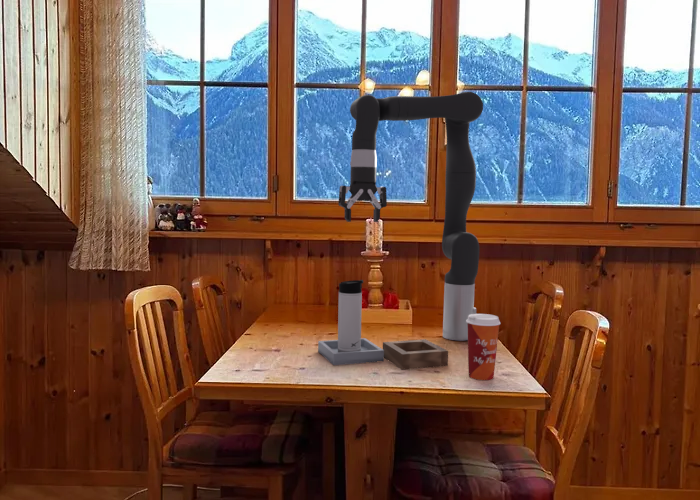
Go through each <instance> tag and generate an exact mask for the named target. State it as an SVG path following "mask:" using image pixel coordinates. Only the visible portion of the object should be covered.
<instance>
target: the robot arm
mask: <svg viewBox="0 0 700 500" xmlns="http://www.w3.org/2000/svg"><path fill="white" fill-rule="evenodd" d="M483 111H484V102H483V99H482V98H481V97H480V95H478V94H477V93H475V92H473V91H462V92H459V93H456V94H449V95H440V96H439V95H438V96H437V95H436V96H419V95H417V96H413V95H412V96H411V95H410V96H409V95H408V96H407V95H406V96H405V95H401V96H400V95H395V96H394V95H392V96H387V97H381V98H377V97H375V96H374V95H372V94H364V95H362V96H359V97H358V98H356V99H355V100H354V101H352V103H351V105H350V107H349V112H350V115H351V117H352V118H353V120H355V129H354V131H353V132H352V137H351V156H350V176H349V177H350V184H349V186H346V185H340V186H339V192H338V204H337V205H338V206H339V207H342V208H343V209H344V219H345V221H346V222H347V223H348V222H349V223H351V222H352V209H351V208H352V206H353V205H354V204H355V203H356V202H362V201H363V202H369V203H370V204H371V205H372V206H373V208H374V209H373V217H372V218H373V223H378V222H379V221H380V220H381V209H383V208H386V207H387V205H388V201H387V199H388V198H387V187H386V186H380V187H379V186H378V187H377V162H378V159H377V131H378V127H379V122H383V121H390V122H393V121H394V122H402V121H404V122H406V121H418V120H419V121H420V120H427V119H428V120H429V119H439V118H440V119H442V118H443V119H444V122H445V123H444V124H445V132H446V133H445V135H446V149H445V150H446V153H445V154H446V155H445V157H446V158H445V159H446V160H445V181H444V182H445V183H444V184H445V194H444V195H445V196H444V197H445V202H444V203H445V204H444V207H445V208H444V212H445V214H444V223H443V231H442V239H441V249H442V252H443V255H444V256H445V258H447V259H449V260H451V264H450V269H449V270H448V272H446V273H445V275H444V285H443V286H444V288H443V291H444V293H443V316H442V317H443V318H442V320H443V321H442V338H444V339H446V340H450V341H461V342H462V341H468V323H467V322H466V320H467V319H468V316H469V315H471V314H477V308H476V307H474V305H475V285H476V283H475V281H476V278H477V275H478V271H479V260H480V244H479V240H478V238H477V236H476V235H474V234H473V233H472V232H468V231H467V214H468V211H469V208H470V205H471V203H472V200H473V198H474V195H475V192H476V185H477V166H476V165H477V164H476V162H475V158H474V156H473V152H472V149H471V145H470V140H469V139H470V137H469V136H470V123H472V122H474V121H476V120H477V119H479V117H480V116H481V115H482V113H483ZM349 192H350V194H351V195H350V197H349V198H348V199H347V201H346V196H347V195H346V194H348V193H349ZM376 193H377V194H378V195H379V201H378V199H377V197H376V196H375V194H376Z"/></svg>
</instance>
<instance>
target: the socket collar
mask: <svg viewBox="0 0 700 500" xmlns="http://www.w3.org/2000/svg"><path fill="white" fill-rule="evenodd" d="M382 349H383V350H384V360H387V361H388V360H389V361H388V362H390V363H391V364H392V365H395V366H396V367H397V368H399V369H400V370H402V371H404V370H417V369H426V368H427V369H429V368H441V367H448V366H449V350H447V349H445V348H443V347H441V346H439V345H438V344H435V343H434V342H432V341H429V340H428V339H413V340H396V341H383V342H382Z"/></svg>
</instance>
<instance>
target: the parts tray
mask: <svg viewBox="0 0 700 500" xmlns="http://www.w3.org/2000/svg"><path fill="white" fill-rule="evenodd" d="M317 343H318V345H317V347H318V348H317V352H318V353H319V354H320V355H321V356H323V358H325V359H326V360H327V361H328V362H329V363H330V364H331V365H332V366H342V365H351V364H353V365H354V364H355V363H356V364H364V363H365V364H367V363H366V362H369V363H378V362H377V361H382V362H384V360H385V358H384V350H383V348H382V347H380V346H378V345H377V344H375V343H374V342H372V341H370V340H369V339H368V338H365V337H361V351H352V352H338V339H331V340H330V339H329V340H328V339H327V340H318V342H317ZM356 364H355V365H356Z"/></svg>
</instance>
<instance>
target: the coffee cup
mask: <svg viewBox="0 0 700 500" xmlns="http://www.w3.org/2000/svg"><path fill="white" fill-rule="evenodd" d="M466 322H467V323H468V340H467V362H468V363H467V364H468V365H467V367H468V368H467V370H468V377H469V378H471V379H473V380H477V381H492V380H493V379H494V375H495V367H496V362H497V361H496V359H497V352H498V351H497V349H498V342H499V341H498V340H499V331H500V325H501V321H500V319H499V316H498V315H494V314H489V313H488V314H487V313H476V314H471V315H469V316H468V319H467V320H466Z"/></svg>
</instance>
